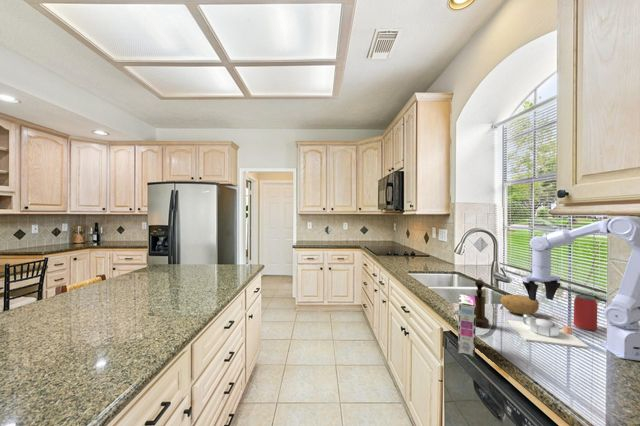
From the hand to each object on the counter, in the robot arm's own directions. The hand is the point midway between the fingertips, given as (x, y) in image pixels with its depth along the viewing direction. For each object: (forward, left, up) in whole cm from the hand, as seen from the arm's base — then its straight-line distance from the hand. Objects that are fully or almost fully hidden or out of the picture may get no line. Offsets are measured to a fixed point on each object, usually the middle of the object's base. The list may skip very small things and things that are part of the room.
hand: (540, 299), depth 109 cm
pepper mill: (-7, +24, -10) cm, 27 cm away
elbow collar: (-7, +4, -9) cm, 12 cm away
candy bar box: (-29, +33, -10) cm, 45 cm away
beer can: (+2, -15, -10) cm, 18 cm away
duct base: (-9, +3, -10) cm, 14 cm away
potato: (+11, +4, -10) cm, 15 cm away
